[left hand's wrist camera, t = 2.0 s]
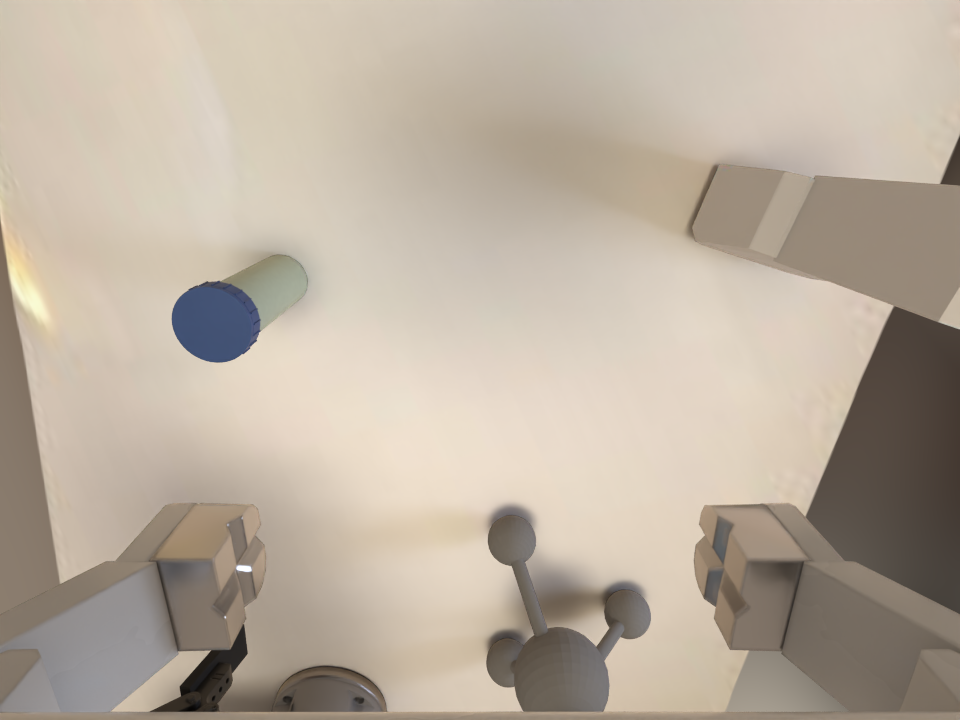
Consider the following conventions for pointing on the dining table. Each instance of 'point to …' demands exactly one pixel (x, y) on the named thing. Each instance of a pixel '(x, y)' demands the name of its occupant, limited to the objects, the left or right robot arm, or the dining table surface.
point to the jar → (272, 285)
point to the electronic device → (843, 233)
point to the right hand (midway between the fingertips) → (166, 629)
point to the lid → (216, 321)
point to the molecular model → (556, 638)
